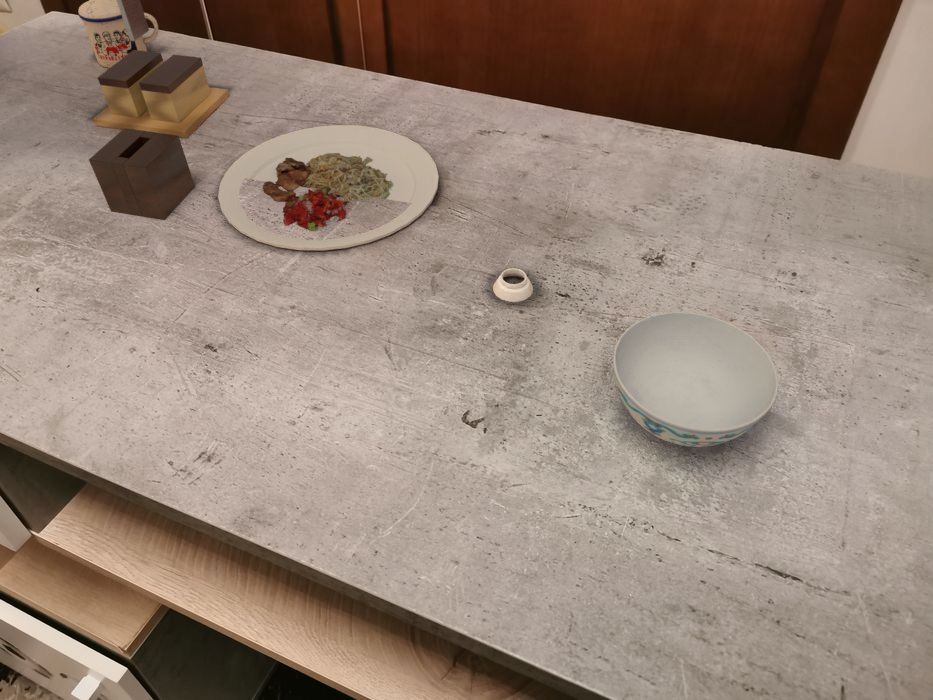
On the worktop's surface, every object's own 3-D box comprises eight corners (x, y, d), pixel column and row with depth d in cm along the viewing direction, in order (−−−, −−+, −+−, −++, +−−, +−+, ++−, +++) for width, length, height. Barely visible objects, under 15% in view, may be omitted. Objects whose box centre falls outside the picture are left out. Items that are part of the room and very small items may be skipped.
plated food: (414, 124, 114) (412, 104, 112) (462, 237, 94) (462, 216, 92) (218, 152, 109) (212, 131, 106) (225, 278, 89) (218, 256, 86)
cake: (95, 125, 114) (77, 82, 109) (144, 85, 124) (129, 43, 119) (186, 138, 112) (172, 94, 106) (229, 96, 121) (218, 53, 116)
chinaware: (621, 348, 80) (632, 296, 74) (762, 385, 76) (785, 333, 71) (586, 452, 70) (596, 401, 65) (745, 501, 67) (770, 451, 61)
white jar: (491, 281, 88) (491, 309, 85) (491, 262, 86) (492, 290, 82) (532, 281, 88) (534, 310, 84) (534, 262, 86) (536, 291, 82)
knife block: (113, 218, 97) (88, 159, 91) (146, 185, 103) (124, 127, 96) (167, 227, 96) (145, 168, 89) (197, 193, 101) (178, 135, 95)
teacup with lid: (95, 72, 127) (68, 3, 119) (98, 51, 133) (73, -16, 125) (166, 64, 129) (145, -5, 121) (166, 43, 135) (146, -24, 127)
